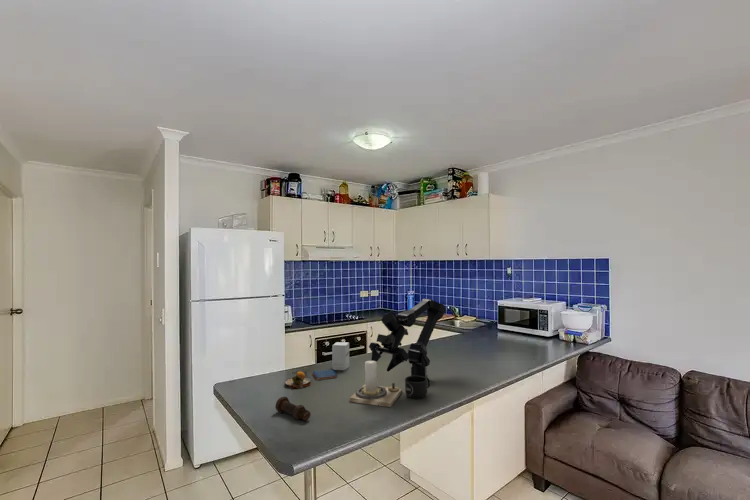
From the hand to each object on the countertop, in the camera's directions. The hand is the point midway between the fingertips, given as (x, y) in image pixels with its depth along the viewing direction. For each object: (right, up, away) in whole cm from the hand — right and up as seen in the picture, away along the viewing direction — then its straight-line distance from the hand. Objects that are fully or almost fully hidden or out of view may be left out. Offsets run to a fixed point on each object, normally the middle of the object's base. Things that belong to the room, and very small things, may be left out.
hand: (379, 368), depth 151 cm
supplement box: (-19, -12, +36) cm, 43 cm away
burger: (-37, -12, +13) cm, 40 cm away
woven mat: (-26, -12, +24) cm, 37 cm away
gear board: (-1, -10, -4) cm, 11 cm away
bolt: (-31, -11, -21) cm, 39 cm away
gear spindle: (-3, -9, -4) cm, 10 cm away
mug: (+16, -10, -3) cm, 20 cm away
